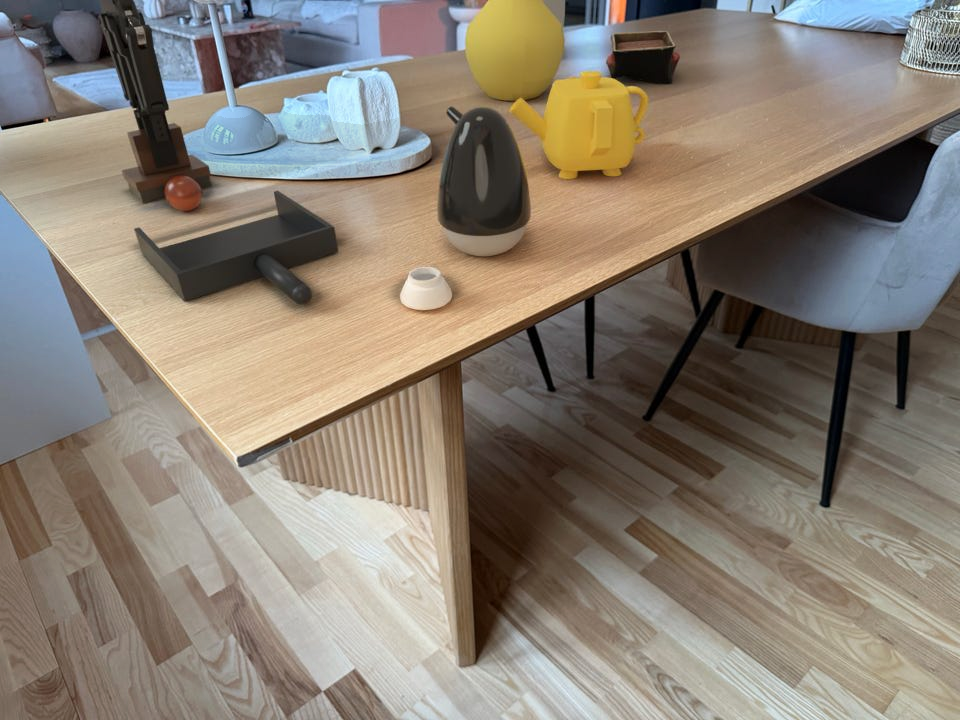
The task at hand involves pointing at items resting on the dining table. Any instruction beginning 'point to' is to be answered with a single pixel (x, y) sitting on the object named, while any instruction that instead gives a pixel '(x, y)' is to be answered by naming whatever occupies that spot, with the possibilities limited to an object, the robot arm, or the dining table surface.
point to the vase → (514, 48)
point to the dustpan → (245, 253)
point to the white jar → (425, 289)
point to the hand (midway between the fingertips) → (163, 161)
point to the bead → (183, 193)
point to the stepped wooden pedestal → (152, 180)
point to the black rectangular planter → (643, 56)
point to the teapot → (587, 124)
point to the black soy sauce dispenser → (483, 184)
